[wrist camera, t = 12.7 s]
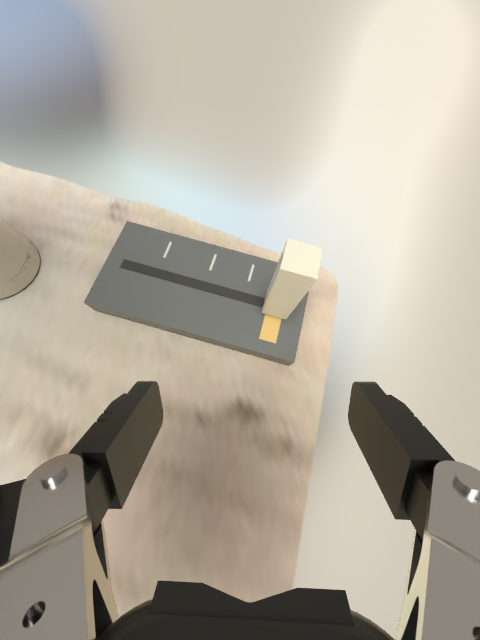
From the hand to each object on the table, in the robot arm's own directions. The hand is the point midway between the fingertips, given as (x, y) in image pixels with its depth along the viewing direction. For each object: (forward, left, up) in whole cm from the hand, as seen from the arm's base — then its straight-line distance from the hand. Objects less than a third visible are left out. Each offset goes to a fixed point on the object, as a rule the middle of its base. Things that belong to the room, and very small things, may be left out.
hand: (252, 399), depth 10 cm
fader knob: (+2, +12, -16) cm, 20 cm away
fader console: (-7, +12, -19) cm, 23 cm away
